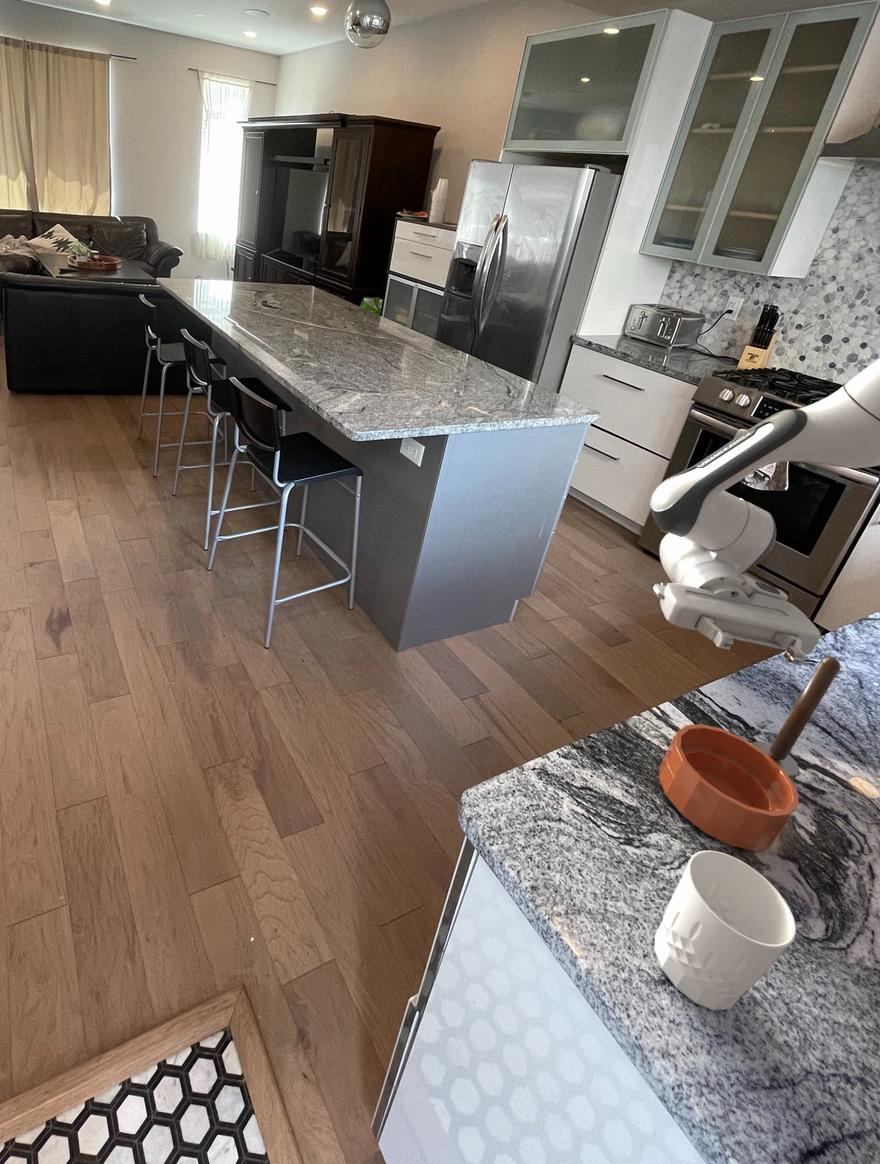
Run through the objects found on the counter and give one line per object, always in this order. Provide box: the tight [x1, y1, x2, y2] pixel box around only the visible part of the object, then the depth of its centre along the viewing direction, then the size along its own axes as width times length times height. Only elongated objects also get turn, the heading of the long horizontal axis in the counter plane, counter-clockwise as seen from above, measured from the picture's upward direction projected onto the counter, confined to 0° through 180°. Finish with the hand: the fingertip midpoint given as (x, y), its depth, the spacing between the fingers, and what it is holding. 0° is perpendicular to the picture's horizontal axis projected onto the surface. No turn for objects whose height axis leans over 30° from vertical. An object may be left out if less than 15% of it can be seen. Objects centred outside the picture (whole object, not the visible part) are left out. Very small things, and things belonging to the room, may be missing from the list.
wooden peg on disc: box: [751, 656, 842, 783], centre depth 77 cm, size 5×5×18 cm
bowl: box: [658, 723, 800, 852], centre depth 72 cm, size 12×12×6 cm
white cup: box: [654, 850, 797, 1011], centre depth 54 cm, size 8×8×10 cm
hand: (762, 652), depth 85 cm, fingers open, 8 cm apart
